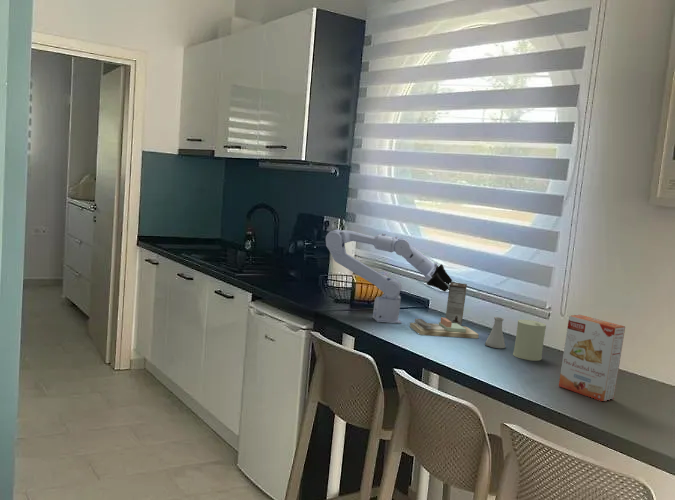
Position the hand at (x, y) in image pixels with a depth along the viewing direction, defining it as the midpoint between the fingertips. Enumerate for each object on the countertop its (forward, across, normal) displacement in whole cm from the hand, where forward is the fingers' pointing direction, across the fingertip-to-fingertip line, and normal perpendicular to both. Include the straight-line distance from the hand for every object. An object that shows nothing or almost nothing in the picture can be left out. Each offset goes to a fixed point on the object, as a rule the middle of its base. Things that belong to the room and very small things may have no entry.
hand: (448, 286), depth 258 cm
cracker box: (+42, -58, -25) cm, 75 cm away
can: (+32, -26, -9) cm, 42 cm away
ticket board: (+9, -11, +11) cm, 18 cm away
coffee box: (+12, +5, +14) cm, 19 cm away
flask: (+24, -18, -1) cm, 30 cm away
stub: (+10, -9, +8) cm, 16 cm away
